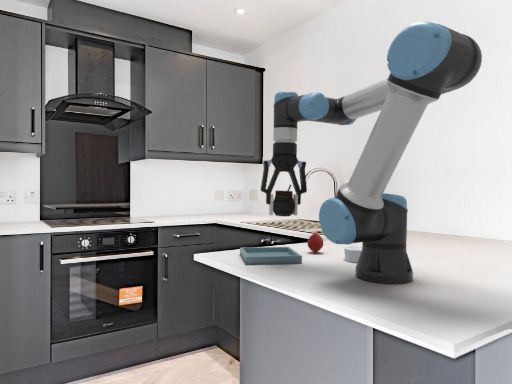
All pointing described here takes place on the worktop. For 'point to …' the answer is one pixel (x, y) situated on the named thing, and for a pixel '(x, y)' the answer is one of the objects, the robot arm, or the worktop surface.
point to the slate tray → (270, 255)
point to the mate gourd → (283, 203)
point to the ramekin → (352, 253)
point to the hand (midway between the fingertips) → (283, 214)
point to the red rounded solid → (315, 242)
